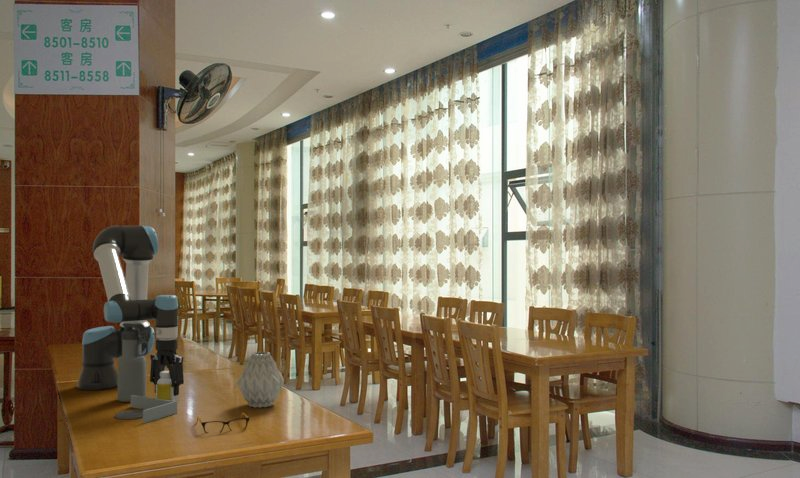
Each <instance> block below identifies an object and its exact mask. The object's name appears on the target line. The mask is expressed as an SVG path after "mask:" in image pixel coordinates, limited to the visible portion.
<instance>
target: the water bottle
mask: <svg viewBox="0 0 800 478" xmlns="http://www.w3.org/2000/svg"><path fill="white" fill-rule="evenodd" d="M123 326H124V331H123V332H122V357H121V358H118V360H117V376H118V386H117V401H119V402H122V403H131V395H135V396H142V397H147V358H146V357H145V356H148V355H149V354H148V342H147V341H145V336H147V331H146V328H145V327H144V325H143V324H141V323H132V322H127V323H123ZM133 328H135V329H133ZM142 337H143V338H142ZM142 343H145V344H146V352H145V354H141V344H142ZM147 354H148V355H147Z"/></svg>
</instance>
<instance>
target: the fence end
mask: <svg viewBox="0 0 800 478" xmlns="http://www.w3.org/2000/svg"><path fill="white" fill-rule="evenodd" d="M142 410H143V418H142V423H143V424H147V423H150V422H154V421H156V420H159V419H163V418H166V417H169V416H173V415H176V414H178V404H177V401H174V402H170V403H167V404H163V405H160V406H157V407H153V408H150V409H142Z"/></svg>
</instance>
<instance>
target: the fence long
mask: <svg viewBox="0 0 800 478" xmlns="http://www.w3.org/2000/svg"><path fill="white" fill-rule="evenodd" d="M170 402H173V401H171V400H164V399H157V398H156V397H149V396H146V397H142V396H135V395H131V402H130V408H135V409H140V410H146V409H150V408H153V407H157V406H160V405H163V404H167V403H170Z"/></svg>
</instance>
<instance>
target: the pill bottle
mask: <svg viewBox="0 0 800 478" xmlns="http://www.w3.org/2000/svg"><path fill="white" fill-rule="evenodd" d="M160 376H161V378H160V379H159V380H158V381H157V399H164V400H171V386H172V382H171V378H170V374H169V370H164V371H161V372H160ZM175 383H176V382H175Z"/></svg>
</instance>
